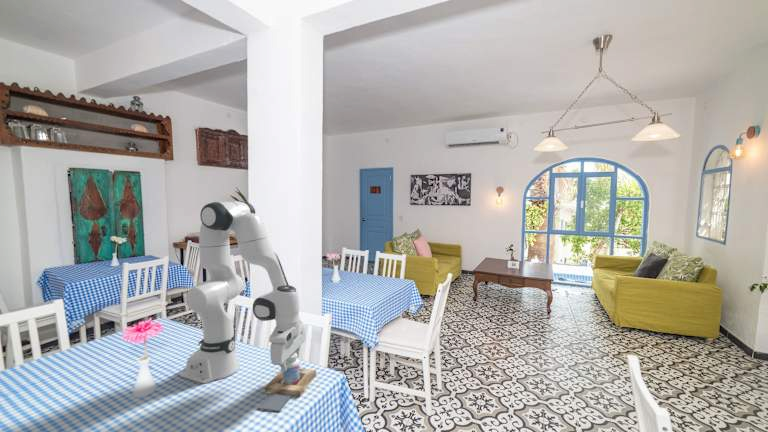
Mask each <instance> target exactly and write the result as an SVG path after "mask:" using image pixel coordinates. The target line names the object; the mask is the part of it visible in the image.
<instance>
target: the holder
mask: <svg viewBox="0 0 768 432" xmlns="http://www.w3.org/2000/svg"><path fill="white" fill-rule="evenodd" d="M316 376H317V370H316V369H308V368H300V381H299V383H298V384H297V385H289V384H284V383H283V372H282V371H281V370H280V371H279V372H278V373H277V374H276V375H275V376H274V377H273V378H272V379H271V380H270V381H269V382H268V383H267V384H266V385H265V386H264V393H267V392H271V393H273V394H275V393H277V394H281V395H289V396H291V397H292V396H294V397H301V396H302V394H304V393H305V391H306V389H307V388H308V387H309V385H310V384H311V383H312V382H313V380H314V379H315V377H316ZM271 393H270V394H271Z"/></svg>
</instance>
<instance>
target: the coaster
mask: <svg viewBox="0 0 768 432" xmlns="http://www.w3.org/2000/svg"><path fill="white" fill-rule="evenodd" d="M291 398H292V395H283V394H275V393H269V395H268V396H267V397H266V398H265V399H264V400H263V401H262V403H260V404H259V406H258V407H257V410H258V409H263V410H262V411H266V410H271V411H270V412H273V411H276V412H275V413H281V411H282V410H283V408H284V407H285V406H286V405H287V403H288V402H289V401H290V400H291ZM281 409H282V410H281Z"/></svg>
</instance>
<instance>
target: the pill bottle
mask: <svg viewBox="0 0 768 432" xmlns="http://www.w3.org/2000/svg"><path fill="white" fill-rule="evenodd" d="M285 364H286V365H287V370H286V371H285V372H283V382H282V384H289V385H297V384H298V383H299V381H300V380H301V378H300V369H301V368H300V359H299V358H298V359H297V353H295V352H294V353H293V354H292V355H291V356H290V357H289V358H288V359H287V360H286V363H285Z"/></svg>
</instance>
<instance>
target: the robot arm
mask: <svg viewBox="0 0 768 432" xmlns="http://www.w3.org/2000/svg"><path fill="white" fill-rule="evenodd" d="M200 221H201V223H200V228H199V237H198V251H199V252H198V253H199V264H200V267H202V269H204V270H207V271H208V274H209V276H210V279H209V280H205V281H203V282H200V283H198V284H197V285H195V286H193V287H191V288H190V289H189V290H188V291H187V292H186V295H185V303H186V306H187V308H188V309H189V310H190V311H192V312H194V313H196V314H197V315H198V316H199V318H200V320H201V325H202V333H203V334H202V335H203V336H202V337H203V338H202V339H201V340H200V341H198V342H197V343H198V344H197V345H198V346H200V348H198V349H197V350H196V351H194V352H193V353H192V354H191V355H190V356H189V357H188V358H187V361H186V366H185V367H184V368H183V369H182V370H181V371H180V372H179V377H180V378H184V379H186V380H190V381H194V382H197V383H200V384H208V383H210V382H212V381H217V380H220V379H224V378H227V377H229V376H231V375H233V374H235V373H236V372H237V371H238V370H239V369H240V363H239V360H238V357H237V354H236V353H237V352H236V348H235V347H236V335H235V333H234V332H235V331H234V318H233V315H232V314H231V313H229V312H226V310H225V306H224V304H225V303H227V302H229V301H232V300H234V299H236V298H237V296H239V295H240V294H241V293H242V292H243V291H244V288H245V284H244V281H243V278H242V277H241V276H240V275H238V274H237V273H236V271H235V269H234V267H233V264H232V260H231V258H232V257H231V244H230V243H231V242H230V241H231V240H230V233H231V231H233V233H234V234H235V238H236V242H237V246H238V250H239V254H240V256H241V259H242V260H244V261H245V262H247V263H248V264H250V265H255V266H259V267H261V268H263V269H265V271H266V272H267V275H268V277H269V281H270V283H271V285H272V290H271V291H270V292H267V293H265V294H262V295H260V296H258V297H257V298H255V300H254V301H253V302H252V313H253V315H254V317H255V318H256V319H257V320H259V321H262V322H264V321H265V322H268V321H273V320H275V325H276V326H275V327H274V329H273V331H272V332H271V334H270V336H269V338H268V340H269V343H270V346H269V347H270V348H269V351H270V352H269V353H270V363H271V364H272V365H275V366H280V371H282V372H285V371H286V370H287V365H286V364H285V363H286V360H287V359H288V358H289V357H290V356H291V355H292V354H293V353H294V352H295V353H297V359H298V360H299V357H300V351H301V349H302V347H301V346H302V345H303V344H304V343H305V341H306V330H305V326H304V325H303V322H302V320H301V317H300V297H299V292H298V290H297V288H296V287H295V286H293V285H290V284H289V282H288V280H287V277H286V274H285V271H284V270H283V269H284V268H283V266H282V263H281V261H280V258H279V257H278V256H279V255H277V253H276V252H275V251H274V250H273V248H272V245H271V243H270V241H269V238H268V234H267V233H268V232H267V231H266V228H265V225H264V221H263V220H262V218H261V216H260V215H258V214H257V213H256V209H255V208H254V206H253V205H252V204H251V203H249V202H246V201H244V200H243V201H242V200H240V201H238V200H226V201H218V202H217V201H213V202H210V203H207V204H205V205H204V206H203V207H202V208H201V210H200Z"/></svg>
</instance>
